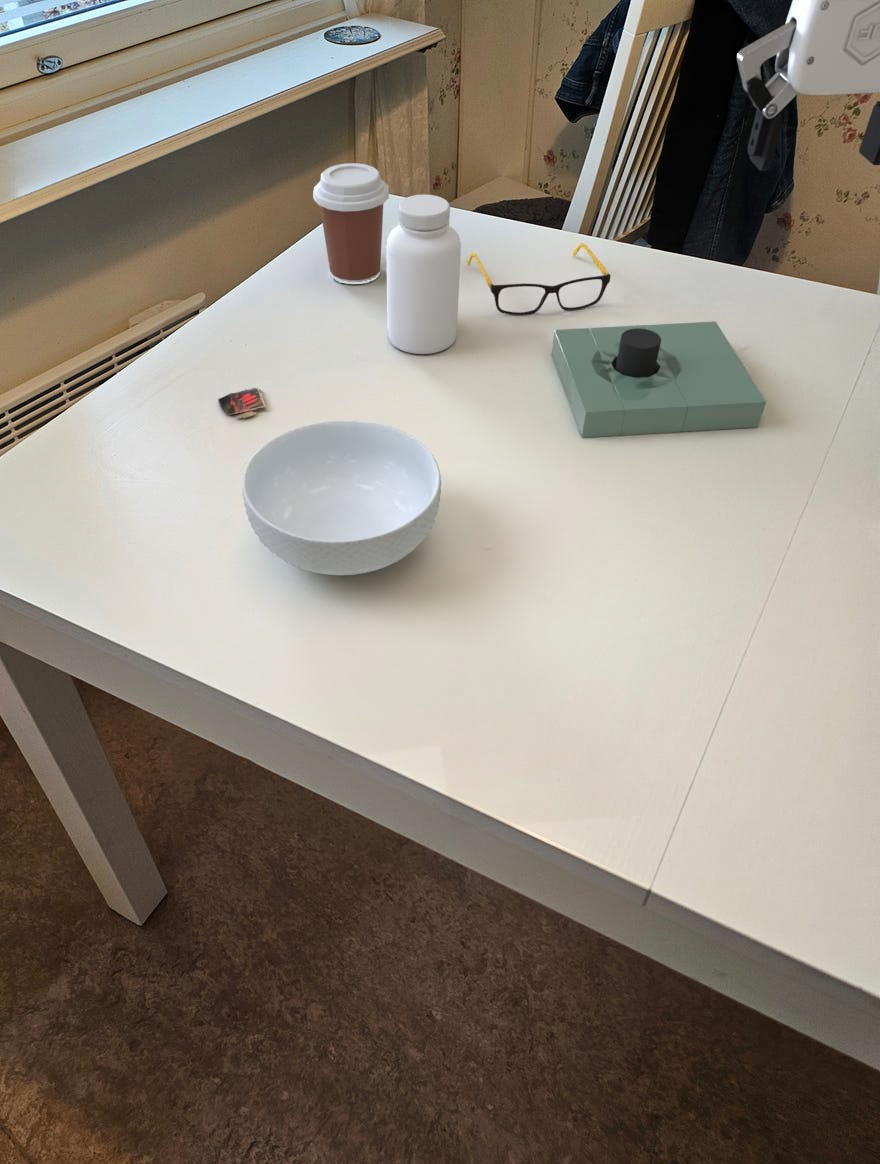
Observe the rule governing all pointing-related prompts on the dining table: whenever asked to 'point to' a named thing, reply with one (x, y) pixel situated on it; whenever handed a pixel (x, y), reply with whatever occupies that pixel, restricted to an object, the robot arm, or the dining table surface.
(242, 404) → the matchbox
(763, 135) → the robot arm
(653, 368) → the stopper
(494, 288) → the eyeglasses
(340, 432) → the cereal bowl
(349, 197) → the coffee cup
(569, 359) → the plate
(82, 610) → the dining table surface
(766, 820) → the dining table surface
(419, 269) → the pill bottle
